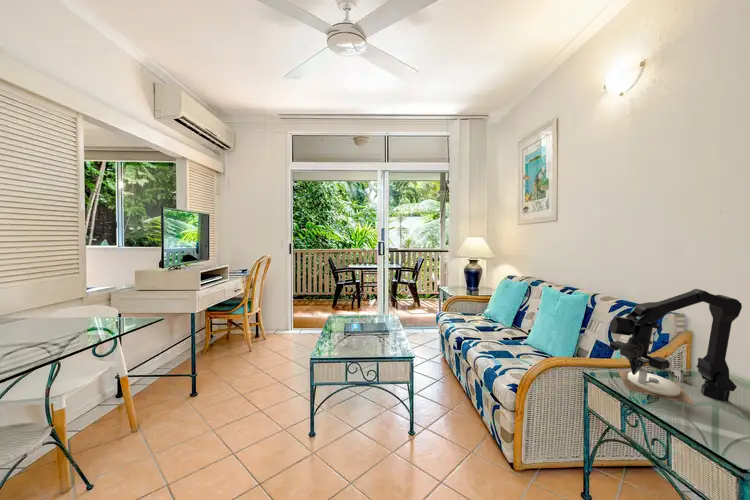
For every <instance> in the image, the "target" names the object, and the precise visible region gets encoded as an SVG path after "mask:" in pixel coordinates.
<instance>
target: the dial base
mask: <svg viewBox="0 0 750 500" xmlns="http://www.w3.org/2000/svg"><path fill="white" fill-rule="evenodd" d="M629 372H630V371H627V370H622V369H617V373H618V374H619V376H620V378H621V380H622V382H623V384H624V387H625V389H626V390H630V391H633V392H637V393H641V394H642V393H643V394H646V395H651V396H654V397H658V398H662V399H666V400H671V401H674V402H679V403H682V404H683V403H684V404H687V405H691V406H696V404H695V403H694V402H693V400H692V398H690V396H689V395H688V394H687V393H686V392H685V391H684V389H683V388H682V387H681V386H680V384H679V383H678V382H677V381H673V380H671V381H672V382H674V383H675V384H677V385H678V386H679V387H680V388H681V391H680V395H678V396H664V395H659V394H655V393H652V392H649V391H646V390H643V389H641V388H639V387H637V386H635V385H633V384H632V383H631V382H630V381H629V380H628V373H629Z"/></svg>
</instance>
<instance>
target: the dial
mask: <svg viewBox="0 0 750 500" xmlns="http://www.w3.org/2000/svg"><path fill="white" fill-rule="evenodd" d="M628 372H629V373H628V380H629V381H630V382H631V383H632V384H633V385H635V386H637V387H639V388H641V389H643V390H646V391H649V392H652V393H655V394H659V395H664V396H678V395H680V391H681V388H682V387H681V386H680V385H679V386H680V387H681V388H680V387H679V386H678V385H677V384H675V383H674V382H675V381H673V380H669V379H667V378H665V377H662V376H660V375H656V374H653V373H649V371H648V370H646V369H643V368H641V369H640V370H639V371H638V372H637V373H636V374H635V375H633V374H632V371H628ZM672 381H673V382H672Z"/></svg>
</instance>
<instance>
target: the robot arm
mask: <svg viewBox="0 0 750 500" xmlns="http://www.w3.org/2000/svg"><path fill="white" fill-rule="evenodd" d="M702 302H703V303H706V304H708V309H709V312H710V314H711V316H712V317H711V318H712V322H711V327H710V335H709V341H708V346H707V350H706V351H707V352H706V355H705V356H704V357H703V358H702V357H698V359H697V365H696V366H695V367H696V368H697V370H698V373H699V374H700V376H701V379H702V380H704V383H703V384H701V387H700V388H701V389H700V394H702V396H705V397H707V398H708V397H709V399H713V400H717V401H720V402H725V401H726V402H729V398H730V395H731V394H730V393H731V392H734V391H735V390H736V389H737V387H738V386H737V385H736V384H735V383H734V381H732V380H731V378H730V368H729V367H728V363H727V361H726V357H727V351H728V346H729V341H730V340H729V339H730V336H731V329H732V323H733V322H734V321H735V320H736V319H737V318H738V317H739V316H740V313H741V311H742V308H743V305H742V302H741V301H739V300H738V299H737V298H733V297H730V296H727V295H725V294H724V295H723V294H713V293H710V292H709V291H706V290H703V289H699V288H694V289H692V290H690V291H687V292H684V293H681V294H679V295H675V296H673V297H669V298H666V299H662V300H660V301H654V302H653V301H651V302H650V301H649V302H642V303H639V304H638V303H637V304H636V305H635V306H634V308H633V310H631V312H629V313H628V314H627V315H626V316H625V317H624V316H623V317H622V316H619V315H614V317H613V319H611V321H609V330H610V332H611V334H615V335H622V336H631V337H629V338H628V341H627V342H623V341H621V340H614V341H611V342H610V343H609V347H608V348H609V349H611V350H613V351H619V355H620V356H623V357H625V358H626V359H627V360H628V362H629V364H630V370H631V372H632V374H633V375H635V374H636V373H637V372H639V371H640V369H643V366H646V365H645V364H646V363H648V366H650V367H653V368H655V369H657V370H660V371H661V370H666V369H667V368H669V367H670V365H671V363H670V361H669V360H668V359H665V358H664V357H661V356H650V354H651V351H649V346H650V344H652V341H651V336H652V334H653V331H654V329H656V330H659V329H661V327H660V325H658V324H657V322H656V321H658V320H659V321H660V319H662V318H664V316H665V315H667V314H668V313H669V314H670V313H671V312H674V311H677V310H681V309H683V308H687V307H690V306H693V305H697V304H700V303H702ZM648 354H649V356H648Z"/></svg>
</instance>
